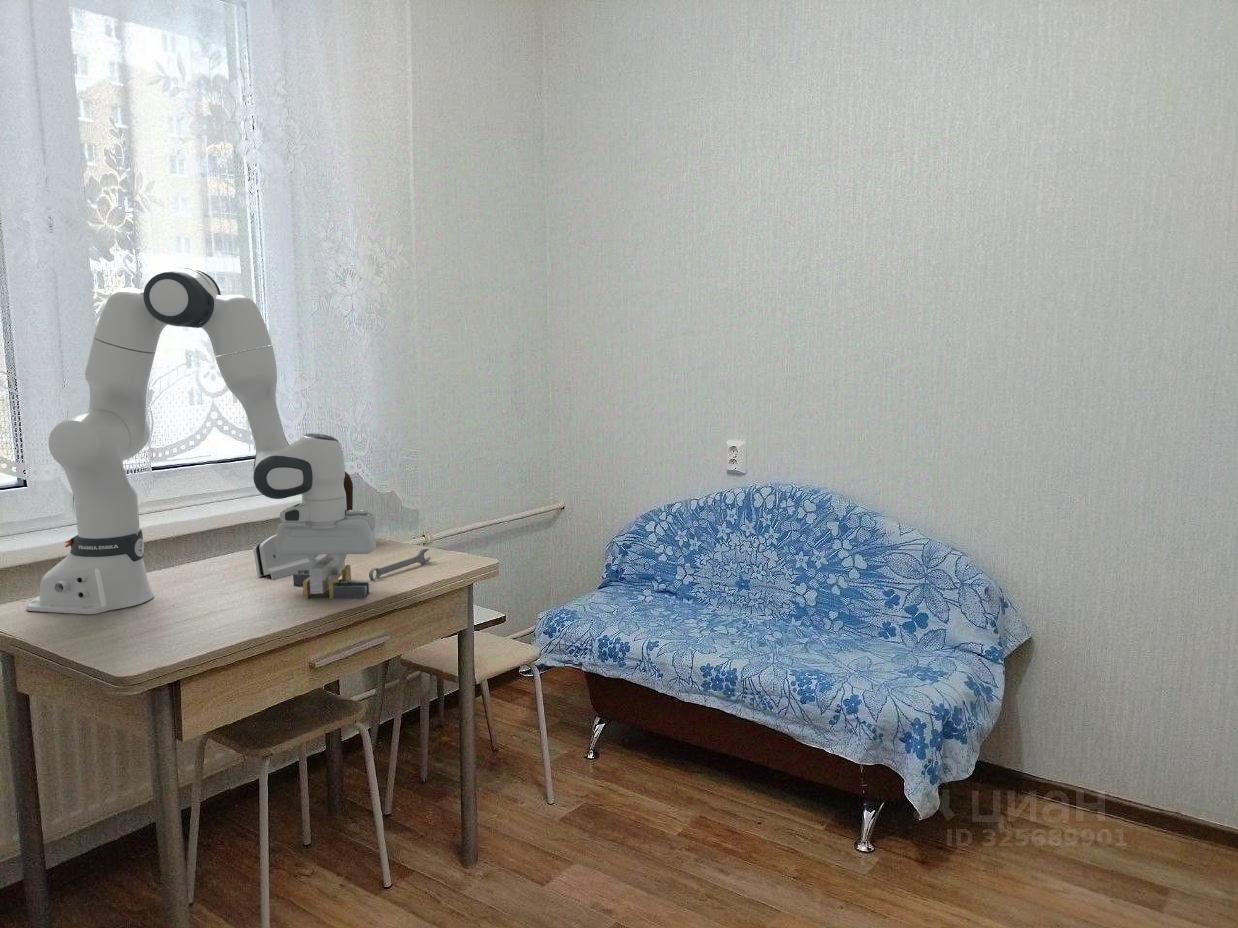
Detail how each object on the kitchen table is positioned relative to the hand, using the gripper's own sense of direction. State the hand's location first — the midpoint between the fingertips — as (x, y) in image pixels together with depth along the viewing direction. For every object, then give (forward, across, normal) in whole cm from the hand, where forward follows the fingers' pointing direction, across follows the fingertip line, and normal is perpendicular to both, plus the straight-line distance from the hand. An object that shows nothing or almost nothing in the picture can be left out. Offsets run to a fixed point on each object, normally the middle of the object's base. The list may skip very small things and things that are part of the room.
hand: (328, 574), depth 201 cm
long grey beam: (+2, 0, 0) cm, 2 cm away
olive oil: (+4, +10, -41) cm, 43 cm away
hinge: (+4, +14, -17) cm, 22 cm away
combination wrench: (+4, -12, -15) cm, 20 cm away
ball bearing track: (+3, 0, 0) cm, 3 cm away
